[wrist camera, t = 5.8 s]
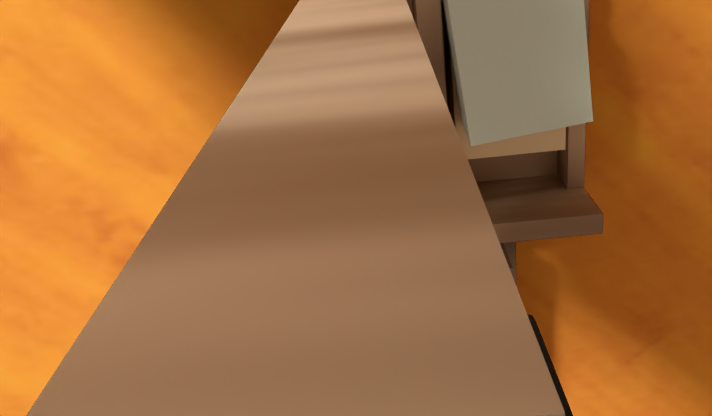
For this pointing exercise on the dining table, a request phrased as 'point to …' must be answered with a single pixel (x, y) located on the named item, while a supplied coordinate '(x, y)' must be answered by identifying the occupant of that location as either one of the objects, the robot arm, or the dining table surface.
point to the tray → (522, 164)
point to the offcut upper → (519, 66)
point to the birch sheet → (318, 254)
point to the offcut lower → (505, 147)
